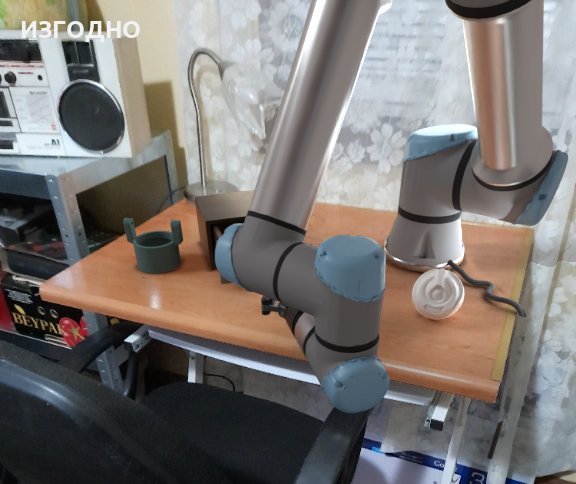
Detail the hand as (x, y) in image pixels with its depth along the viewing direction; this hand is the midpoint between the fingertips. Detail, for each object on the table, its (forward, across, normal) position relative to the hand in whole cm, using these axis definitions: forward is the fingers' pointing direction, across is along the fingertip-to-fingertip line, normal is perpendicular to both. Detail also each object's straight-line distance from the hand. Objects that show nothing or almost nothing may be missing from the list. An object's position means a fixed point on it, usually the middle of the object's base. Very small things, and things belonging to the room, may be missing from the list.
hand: (274, 255), depth 90 cm
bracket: (+17, -19, -7) cm, 26 cm away
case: (+18, -3, -6) cm, 19 cm away
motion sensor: (-17, +22, -7) cm, 29 cm away
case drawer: (+9, -3, -6) cm, 11 cm away
